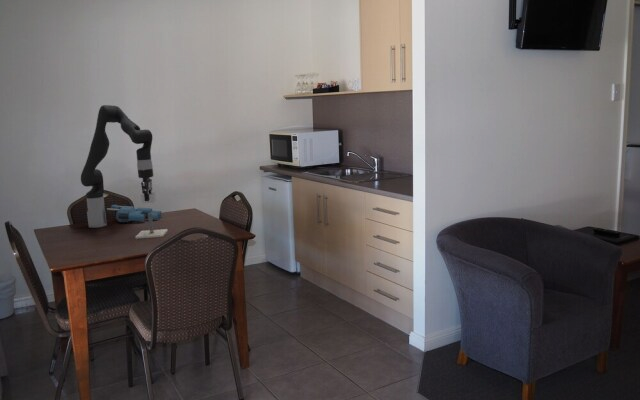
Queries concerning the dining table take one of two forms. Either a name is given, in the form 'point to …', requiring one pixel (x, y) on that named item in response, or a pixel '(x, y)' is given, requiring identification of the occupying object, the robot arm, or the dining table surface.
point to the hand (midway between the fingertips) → (148, 199)
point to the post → (151, 231)
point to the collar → (151, 198)
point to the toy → (133, 213)
